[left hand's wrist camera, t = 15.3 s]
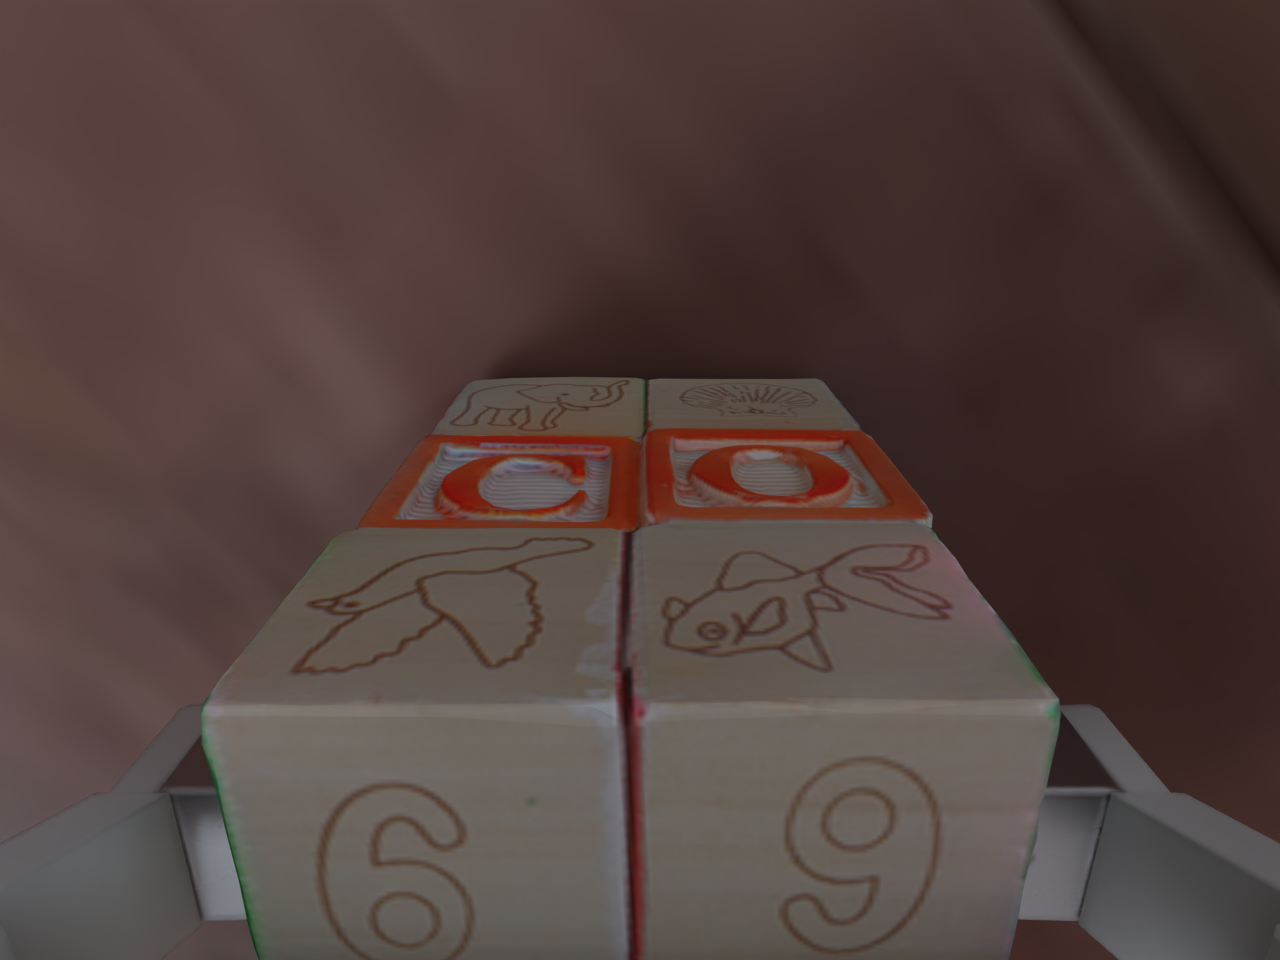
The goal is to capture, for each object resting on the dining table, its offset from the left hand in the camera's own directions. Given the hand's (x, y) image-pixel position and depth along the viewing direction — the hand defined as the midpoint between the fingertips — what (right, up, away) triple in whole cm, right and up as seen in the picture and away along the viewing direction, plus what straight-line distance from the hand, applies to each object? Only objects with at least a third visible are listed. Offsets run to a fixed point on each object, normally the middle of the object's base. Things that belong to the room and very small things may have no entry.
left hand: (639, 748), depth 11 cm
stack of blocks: (0, -5, +8) cm, 9 cm away
